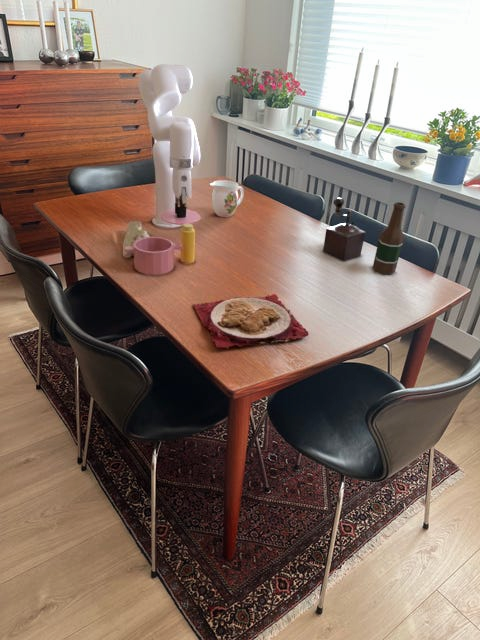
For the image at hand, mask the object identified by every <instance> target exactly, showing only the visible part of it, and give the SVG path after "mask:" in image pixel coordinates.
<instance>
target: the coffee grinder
mask: <svg viewBox="0 0 480 640" xmlns="http://www.w3.org/2000/svg"><path fill="white" fill-rule="evenodd" d="M344 204H345V200H344V199H343V197H337V198H335V199H334V200H333V205H334V206H335V209H334V215H335V216H337V217H340V218H341V217H342V218H346V220H345V222H344V223H339V224H336V225H332V226H329V227H326V229H325V235H324V240H323V241H324V242H323V247H322V252H323V253H325V254H326V255H328V256H329V257H330V256H331V257H332V258H334V259H337V260H339V261H341V262H346V261H349V260H352V259H356V258H358V257H361V255H362V250H363V245H364V241H365V236H366V231H364V230H362V229H360V228H359V227H357V226H355V225H354V224H355V223H354V222H351V223H349V222H350V217H352V214H351V213H352V211H351V210H347V213H346V214H343V213H340V212H342V211H343V210H344V209H343V206H344Z"/></svg>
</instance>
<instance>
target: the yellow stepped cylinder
mask: <svg viewBox="0 0 480 640" xmlns="http://www.w3.org/2000/svg"><path fill="white" fill-rule="evenodd" d="M195 238H196V229H195V228H194V224H188V223H187V224H183V225H182V227H181V228H180V244H181V245H182V249H180V253H179V254H180V255H179V256H180V258H179V260H180V262H181V263H183V264H191V263H194V262H195V247H196V246H195V241H196V239H195Z"/></svg>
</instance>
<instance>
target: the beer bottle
mask: <svg viewBox="0 0 480 640" xmlns="http://www.w3.org/2000/svg"><path fill="white" fill-rule="evenodd" d="M405 208H406V204H405V203H403V202H400V201H399V202H398V201H397V202H394V203H393V209H392V212H391V216H390V219H389V222H388V224H387V226H386V227H385V228H384V229H383V230H382V231H381V233H380V235H379V238H378V242H377V246H376V251H375V255H374V259H373V264H372V269H373V270H374V272H375V273H377V274H380V275H383V276H392V275H393V274H395V273H396V269H397V266H398V263H399V259H400V254H401V251H402V247H403V244H404V233H403V230H402V222H403V216H404V211H405Z"/></svg>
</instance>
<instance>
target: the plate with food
mask: <svg viewBox="0 0 480 640" xmlns="http://www.w3.org/2000/svg"><path fill="white" fill-rule="evenodd" d="M192 307H193V308H194V310H195V311H196V313H197V316H198V317H199V319H200V321H201V323H202V325H203V327H204V328H206V329H208V330H210V334H209V337H210V340H211V341H212V343H214V344H215V347H216V348H221V349H223V348H226V349H229V348H230V347H234V346H237V347H238V348H243V347H244V346H247V345H248V346H249V345H257V344H262V345H263V344H266V342H265V341H259V340H263V339H269V338H274V340H272V341H271V343H272V344H275V345H276V344H277V343H278V342H283V343H284V342H285V343H286V342H287V343H288V342H290V341H294V340H297V339H301V338H302V339H303V338H305V337H308V336H309V335H310V333H309V331H308V330H306V328H305V327H304V326H303V325H302V324H301V322H299V321H298V320H297V319H296V317H294V314H290V311H291V310H290V309H287V308H286V306H285V304H283V303H282V300H279V297H278V295H277V294H275V293H273V294H268V295H266V296H265V297H253V296H250V297H249V296H248V297H243V296H241V297H240V296H235V297H233V298H227V299H223V300H222V299H220V300H216V301H214V302H205V303H201V304H199V303H198V304H192Z"/></svg>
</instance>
